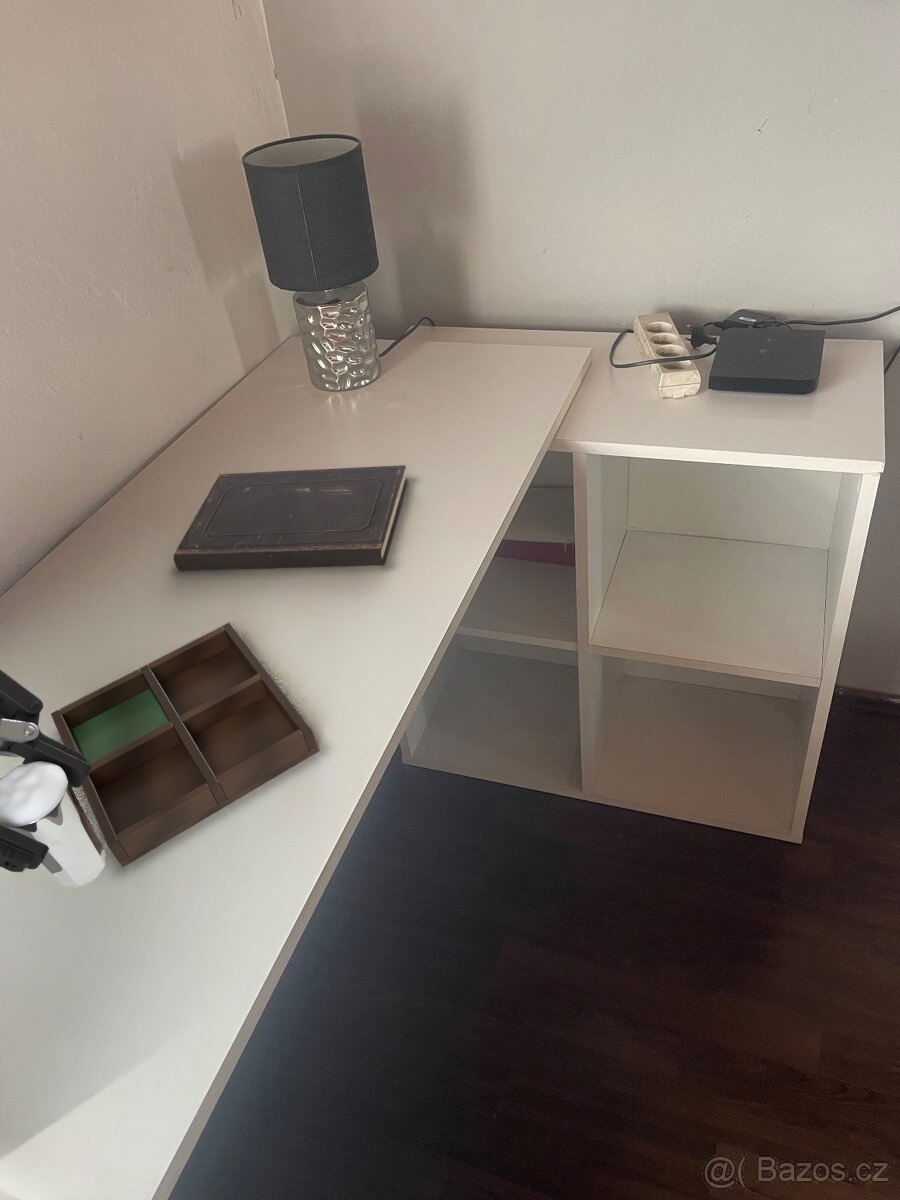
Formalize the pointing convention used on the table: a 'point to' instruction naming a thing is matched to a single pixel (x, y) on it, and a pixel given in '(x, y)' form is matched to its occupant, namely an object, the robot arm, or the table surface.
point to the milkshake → (52, 821)
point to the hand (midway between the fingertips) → (63, 816)
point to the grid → (181, 740)
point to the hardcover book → (295, 519)
